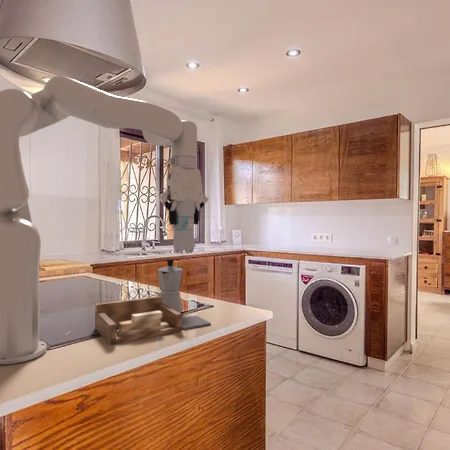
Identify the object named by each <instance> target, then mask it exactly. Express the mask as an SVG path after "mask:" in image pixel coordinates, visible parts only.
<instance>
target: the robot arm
mask: <svg viewBox="0 0 450 450" xmlns="http://www.w3.org/2000/svg"><path fill="white" fill-rule="evenodd" d="M70 116H71V117H74V118H77V119H80V120H83V121H84V122H87V123H91V124H94V125H97V126H100V127H102V128H105V129H116V130H117V129H118V130H119V129H135V130H140V131H142V135H143V138H144V140H145V141H146V142H147V143H148V144H150V145H152V146H154V147H155V146H158V147H162V146H170V147H171V157H170V158H167V161H166V162H167V164H170V167H169V168H168V169H169V171H168V175H167V182H166V189H165V191H163V193H161V194H160V195H159V196H158V200H159V201H160V203H162V205H163V206H164V207H165V209H166V210H167V211H168V223H169V225H171V226H172V225H173V226H174V225H176V211H175V208H176V205H177V203H178V202H183V201H185V199H186V197H191V199H192V201H193V202H195V213H194V225H199V222H200V212H201V210H202V208H203V207H204V206H205V204H206V203H208V201H209V198H208V197H207V196H206V194H205V193H204V191H203V182H202V181H203V180H202V175H201V170H200V169H199V168H198V126H197V124H196V123H195V122H194V121H190V120H186V119H185V120H181V119H180V117H179V116H178V115H177V114H175V113H174V112H173V111H171V110H169V109H166V108H164V107H161V106H159V105H157V104H155V103H151V102H149V101H144V100H140V99H139V100H138V99H133V98H128V97H122V96H117V95H114V94H111V93H108V92H106V91H104V90H102V89H101V90H100V89H98V88H96V87H93V86H91V85H88V84H86V83H84V82H80V81H79V80H76V79H73V78H70V77H68V76H66V75H65V76H64V75H56V76H53V77H51V78H49V80H48V81H47V82H46V83H45V84H44V87H43V89H40V90H39V91H37V92H34V93H32V94H31V93H30V94H29V93H27V92H26V91H24V90H21V89H18V88H6V89H2V90H0V365H13V364H14V365H15V364H21V363H24V362H28V361H31V360H33V359H36V358H39V357H40V356H42V355H43V354H44V353H45V352H47V349H48V348H47V347H48V345H47V343H46V342H45V341H43V340H40V263H41V262H40V261H41V260H40V259H41V250H42V249H41V248H42V247H41V246H42V245H41V244H42V243H41V236H40V233H39V230H38V228H37V227H36V226H35V225H34V223H33V221H32V216H31V212H30V205H29V202H28V201H29V197H30V189H29V187H28V184H27V180H26V176H25V172H24V167H23V162H22V155H21V149H20V137H25V136H28V135H31V134H33V133H35V132H38V131H41V130H42V129H45V128H48V127H50V126H52V125H53V126H54V125H55V124H57V123H59V122H61V121H63V120H65V119H67V118H69V117H70Z"/></svg>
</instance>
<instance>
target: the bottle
mask: <svg viewBox="0 0 450 450" xmlns="http://www.w3.org/2000/svg"><path fill="white" fill-rule="evenodd" d="M175 211H176V225H173V243H172V245H173V250H174V252H175V253H176V254H179V253H180V254H182V255H183V253H184V252H185V253H186V254H192V253H193V252H194V250H195V224H194V213H195V202H193V201H192V199H191V197H186V199H185V201H183V202H178V203H177V205H176V208H175Z"/></svg>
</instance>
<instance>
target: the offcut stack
mask: <svg viewBox="0 0 450 450" xmlns="http://www.w3.org/2000/svg"><path fill="white" fill-rule="evenodd" d="M161 318H162V312H161V311H152V312H145V313H139V314H132V320H130V321H123V322H119V326H118V329H116V337H121V336H126V335H132V334H137V333H143V332H149V331H154V330H160V329H165V328H169V324H168V323H166V322H161Z"/></svg>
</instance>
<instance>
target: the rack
mask: <svg viewBox="0 0 450 450" xmlns="http://www.w3.org/2000/svg"><path fill="white" fill-rule="evenodd" d="M94 305H95V307H94V308H95V309H94V313H95V315H94V316H95V317H94V321H95V324H94V325H95V326H94V329H96V331H97V330H98V331H99V332H100V333H99V332H98V331H97V332H98V333H99V334H100V335H101V337H102V338H103V339H104V340H105V341H106V342H107V344H108V345H110V346H111V345H115V344H122V343H127V342H131V341H132V342H133V341H137V340H142V339H147V338H152V337H153V338H154V337H159V336H163V335H169V334H173V333H179V332H182V330H183V329H182V318H183V317H182V316H183V314H182V313H179V312H178V311H176V310H174V309H172V308H170V307H169V306H167V305H165V304H163V303H162V296H159V295H157V296H149V297H141V298H133V299H125V300H124V299H123V300H118V301H117V300H115V301H109V302H108V301H107V302H100V303H99V302H98V303H95V304H94ZM152 311H161V312H162V318H161V322H166V323H168V324H169V328H165V329H160V330H154V331H149V332H143V333H137V334H132V335H126V336H121V337H117V327H119V322H123V321H130V320H132V314H139V313H145V312H152Z"/></svg>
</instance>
